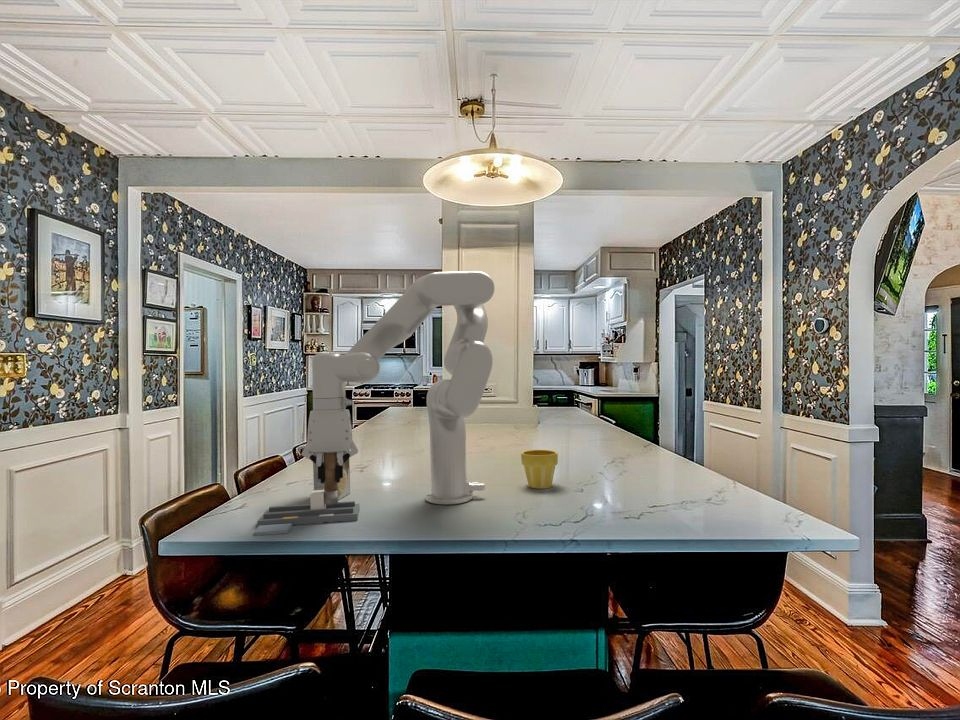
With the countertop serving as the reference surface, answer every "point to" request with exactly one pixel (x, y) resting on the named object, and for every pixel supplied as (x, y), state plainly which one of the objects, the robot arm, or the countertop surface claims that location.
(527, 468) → the plant pot
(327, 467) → the brown rod
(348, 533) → the countertop surface
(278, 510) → the switch panel
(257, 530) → the tool mat
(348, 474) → the coffee box
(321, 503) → the switch tab
